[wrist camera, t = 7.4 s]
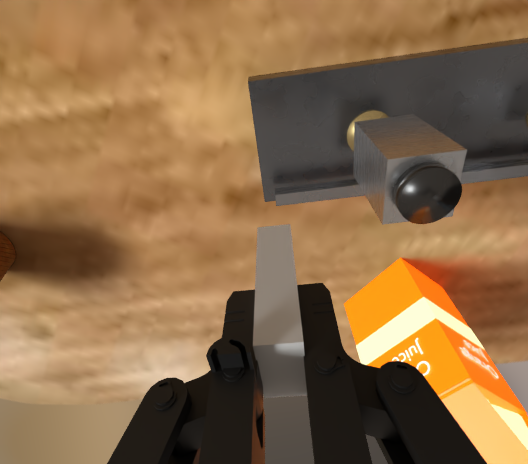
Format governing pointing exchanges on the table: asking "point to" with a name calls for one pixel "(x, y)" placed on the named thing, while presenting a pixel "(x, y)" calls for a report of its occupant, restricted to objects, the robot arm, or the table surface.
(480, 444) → the orange juice
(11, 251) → the disposable coffee cup
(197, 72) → the table surface
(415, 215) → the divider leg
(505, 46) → the plate
